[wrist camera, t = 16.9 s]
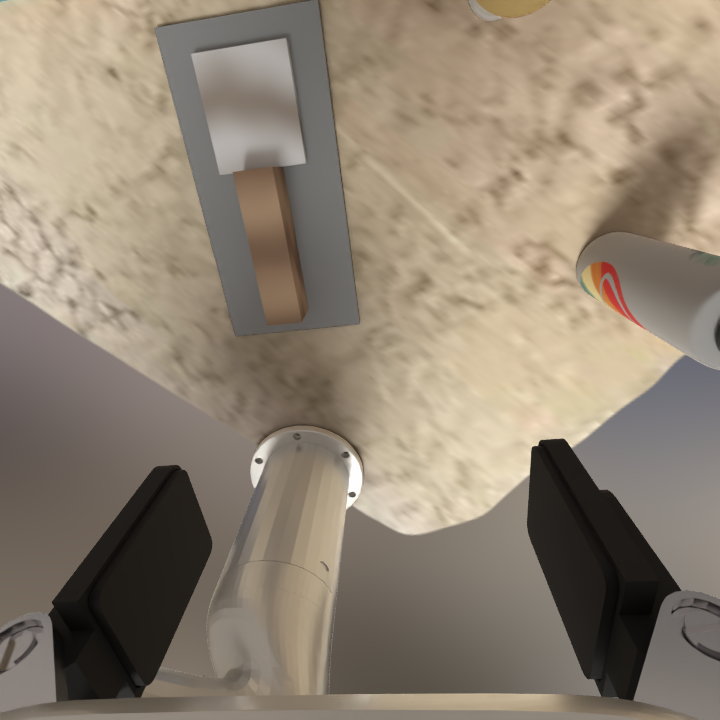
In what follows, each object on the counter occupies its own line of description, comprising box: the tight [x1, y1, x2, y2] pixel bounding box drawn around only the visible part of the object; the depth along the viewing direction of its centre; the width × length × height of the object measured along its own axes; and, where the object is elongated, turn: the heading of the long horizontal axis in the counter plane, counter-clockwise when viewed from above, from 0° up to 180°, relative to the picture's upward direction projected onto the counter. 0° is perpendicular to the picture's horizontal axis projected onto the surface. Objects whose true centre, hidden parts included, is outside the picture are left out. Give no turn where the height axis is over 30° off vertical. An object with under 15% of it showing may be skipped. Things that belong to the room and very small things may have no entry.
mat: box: [154, 0, 360, 336], centre depth 35 cm, size 24×12×1 cm, turn 7°
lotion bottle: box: [576, 232, 720, 370], centre depth 27 cm, size 6×6×20 cm
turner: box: [191, 38, 309, 326], centre depth 33 cm, size 20×7×4 cm, turn 7°
